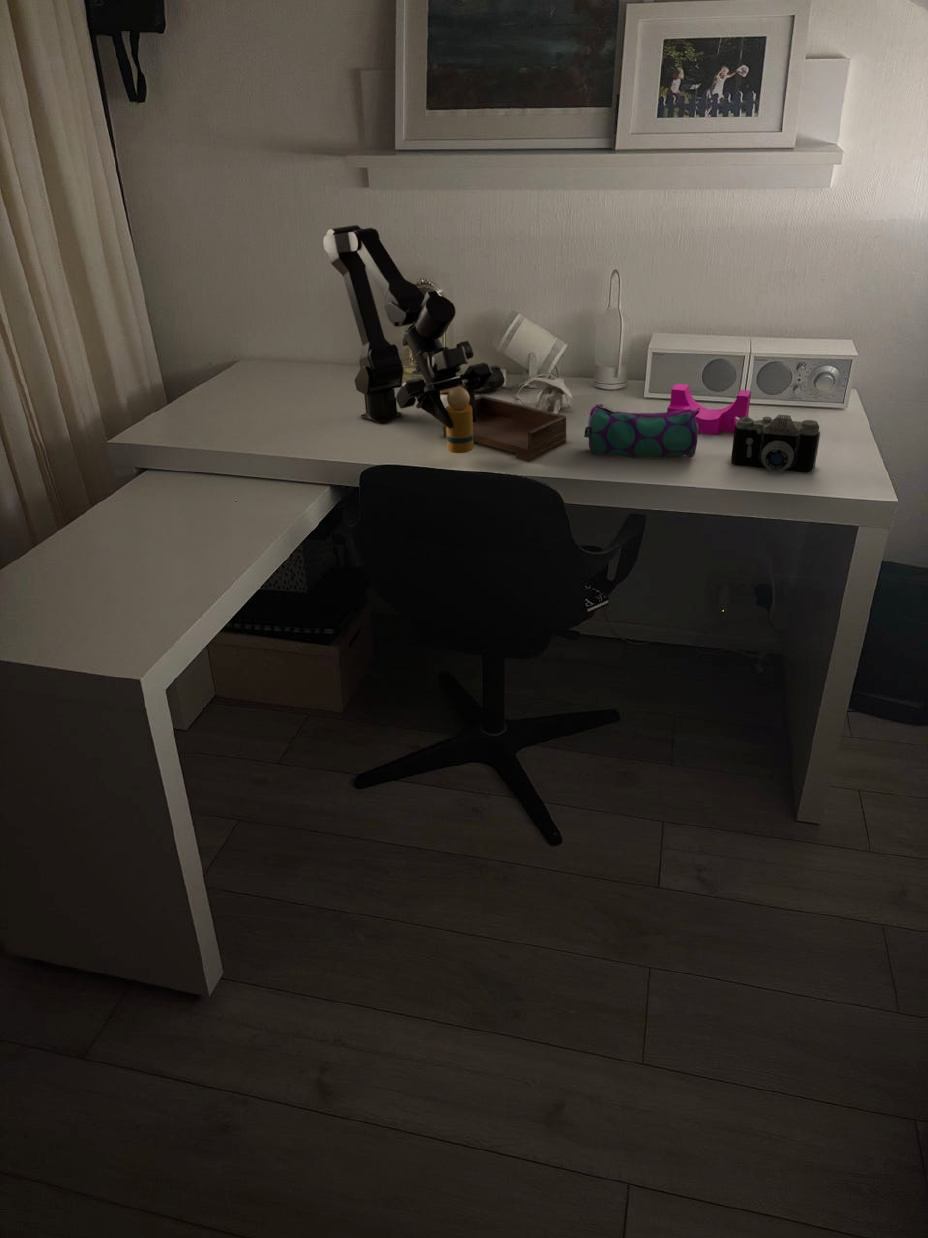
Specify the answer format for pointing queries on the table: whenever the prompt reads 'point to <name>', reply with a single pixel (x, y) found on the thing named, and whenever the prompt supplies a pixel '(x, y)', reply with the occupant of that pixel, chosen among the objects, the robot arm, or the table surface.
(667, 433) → the pencil case
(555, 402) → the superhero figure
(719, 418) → the toy block
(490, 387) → the toy figure
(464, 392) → the doll
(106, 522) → the table surface
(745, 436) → the camera
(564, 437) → the wooden desk tray
